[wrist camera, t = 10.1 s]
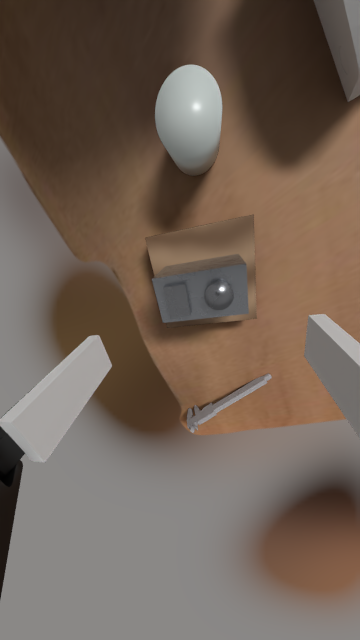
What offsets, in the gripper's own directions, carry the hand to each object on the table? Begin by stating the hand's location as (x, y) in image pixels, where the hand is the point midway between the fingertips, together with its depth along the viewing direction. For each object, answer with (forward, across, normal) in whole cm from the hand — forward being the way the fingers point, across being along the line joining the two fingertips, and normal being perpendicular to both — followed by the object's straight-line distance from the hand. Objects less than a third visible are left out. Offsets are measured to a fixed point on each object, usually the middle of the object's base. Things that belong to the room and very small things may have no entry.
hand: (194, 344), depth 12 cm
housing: (+17, 0, 0) cm, 17 cm away
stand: (+21, 0, 0) cm, 21 cm away
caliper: (+21, +1, -27) cm, 34 cm away
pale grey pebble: (+21, +1, +16) cm, 26 cm away
